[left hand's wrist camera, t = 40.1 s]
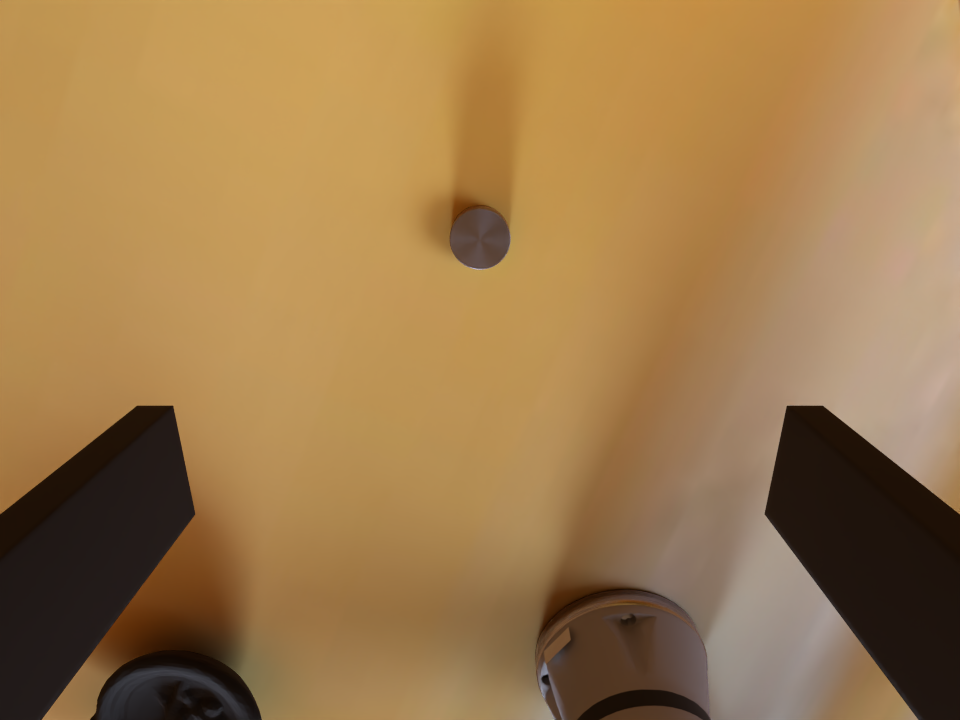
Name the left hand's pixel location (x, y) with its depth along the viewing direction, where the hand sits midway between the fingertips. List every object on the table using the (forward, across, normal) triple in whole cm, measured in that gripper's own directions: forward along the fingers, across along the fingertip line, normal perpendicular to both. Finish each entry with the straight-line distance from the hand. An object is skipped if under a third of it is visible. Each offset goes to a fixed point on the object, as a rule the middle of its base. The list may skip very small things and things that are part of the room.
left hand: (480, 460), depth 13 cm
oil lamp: (+30, +29, +43) cm, 60 cm away
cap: (+29, 0, 0) cm, 29 cm away
